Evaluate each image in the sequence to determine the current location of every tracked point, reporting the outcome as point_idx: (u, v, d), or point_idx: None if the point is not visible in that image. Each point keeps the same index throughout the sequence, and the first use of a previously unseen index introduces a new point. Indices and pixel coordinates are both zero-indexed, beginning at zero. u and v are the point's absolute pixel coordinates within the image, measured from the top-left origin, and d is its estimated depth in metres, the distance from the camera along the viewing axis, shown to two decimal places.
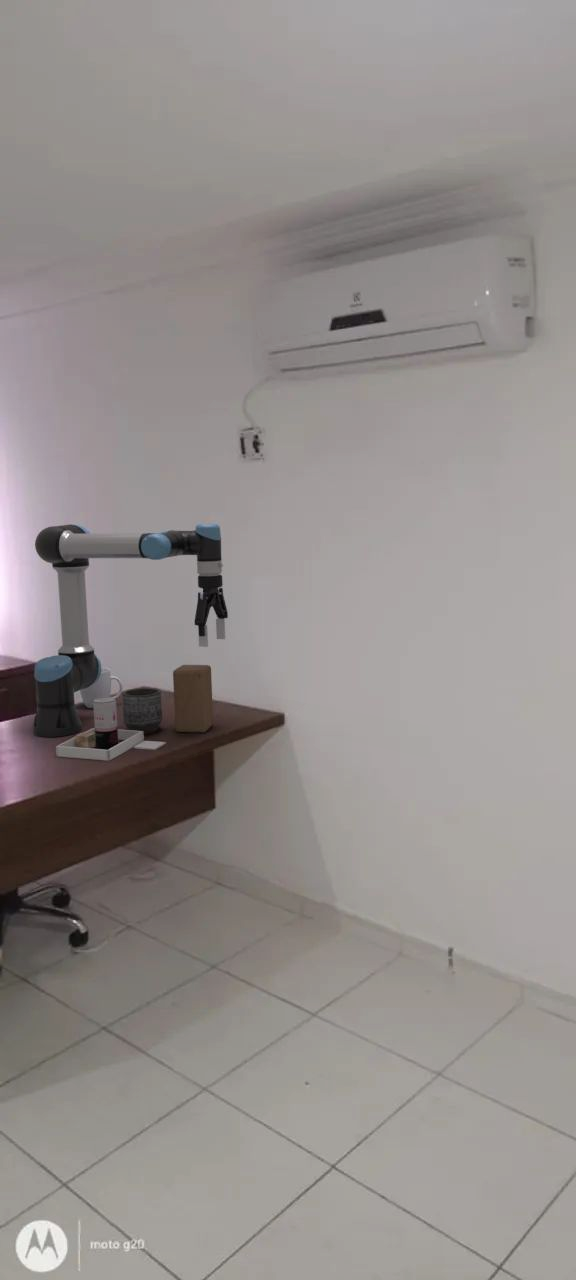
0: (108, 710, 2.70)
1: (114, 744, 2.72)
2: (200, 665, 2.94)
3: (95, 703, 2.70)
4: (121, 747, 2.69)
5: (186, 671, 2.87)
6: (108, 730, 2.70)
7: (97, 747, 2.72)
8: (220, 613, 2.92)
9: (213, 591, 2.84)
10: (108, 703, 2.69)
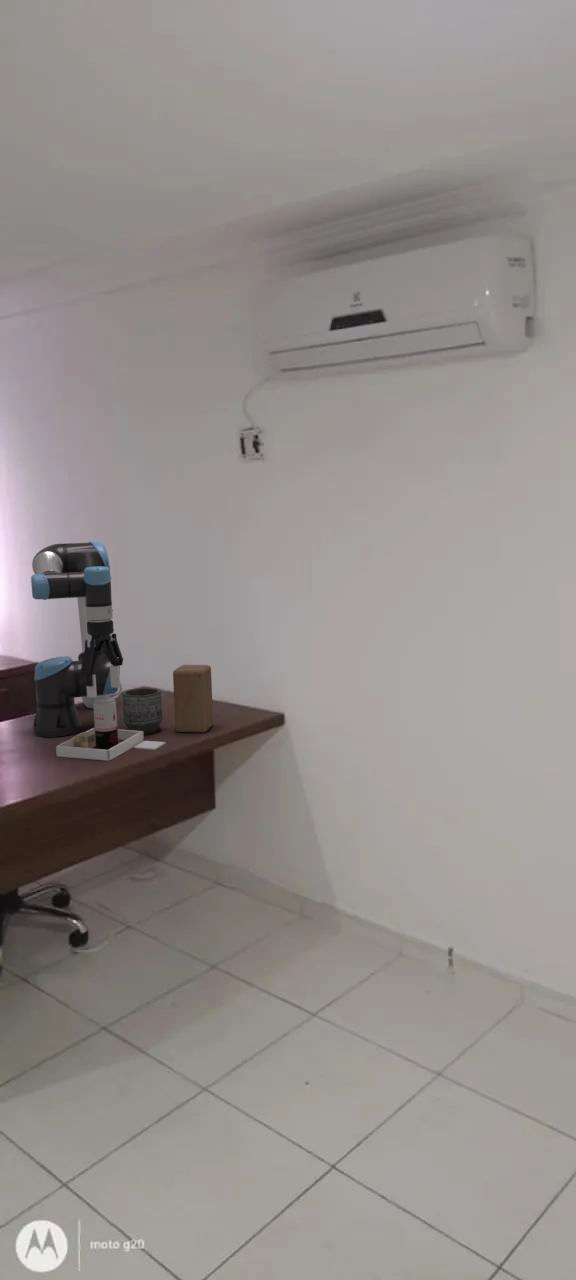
0: (108, 710, 2.70)
1: (114, 744, 2.72)
2: (200, 665, 2.94)
3: (95, 703, 2.70)
4: (121, 747, 2.69)
5: (186, 671, 2.87)
6: (108, 730, 2.70)
7: (97, 747, 2.72)
8: (114, 660, 2.75)
9: (103, 638, 2.68)
10: (108, 703, 2.69)
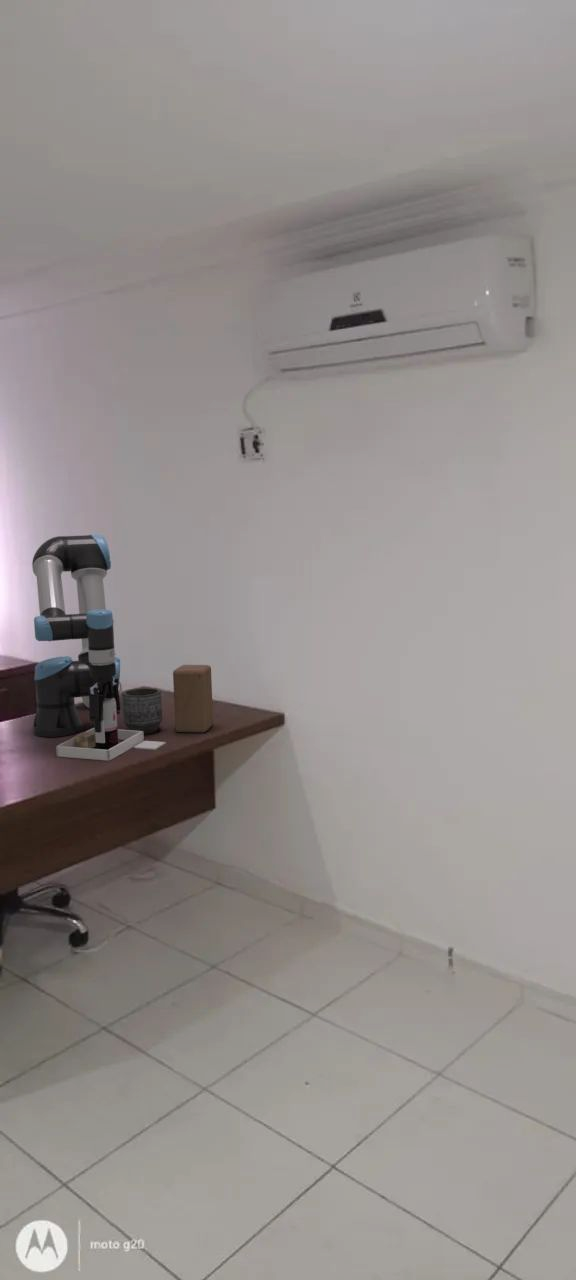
0: (108, 710, 2.70)
1: (114, 744, 2.72)
2: (200, 665, 2.94)
3: None
4: (121, 747, 2.69)
5: (186, 671, 2.87)
6: (108, 730, 2.70)
7: (97, 747, 2.72)
8: None
9: (106, 680, 2.70)
10: (108, 703, 2.69)
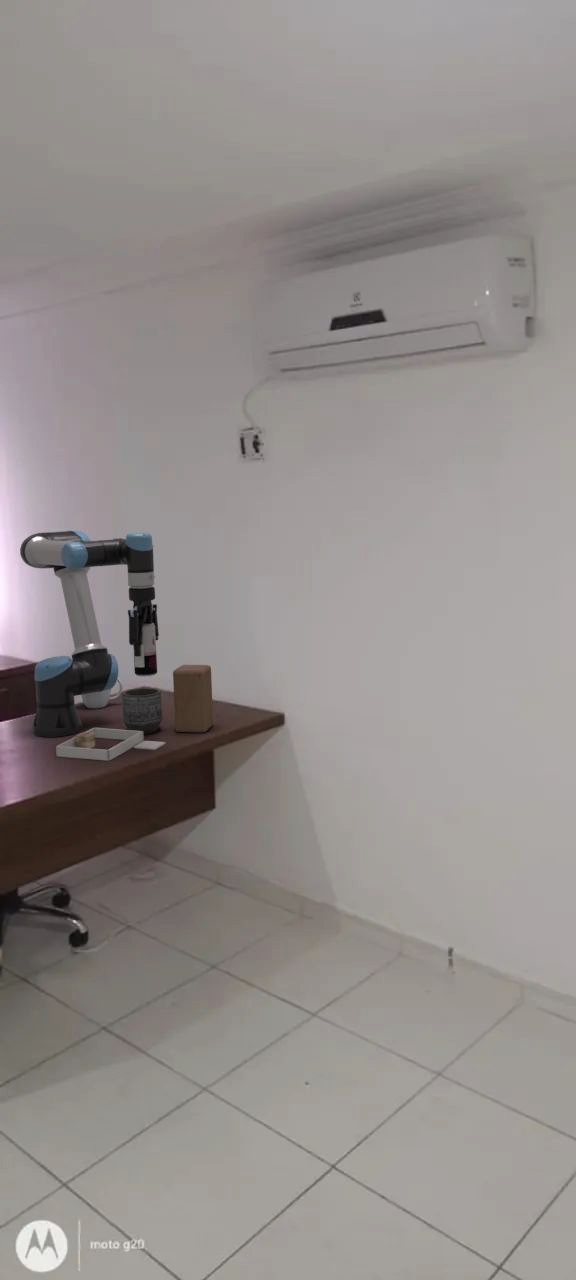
0: (148, 634, 2.68)
1: (153, 669, 2.70)
2: (200, 665, 2.94)
3: None
4: (121, 747, 2.69)
5: (186, 671, 2.87)
6: (147, 655, 2.69)
7: (136, 672, 2.70)
8: None
9: (145, 604, 2.69)
10: (147, 627, 2.68)
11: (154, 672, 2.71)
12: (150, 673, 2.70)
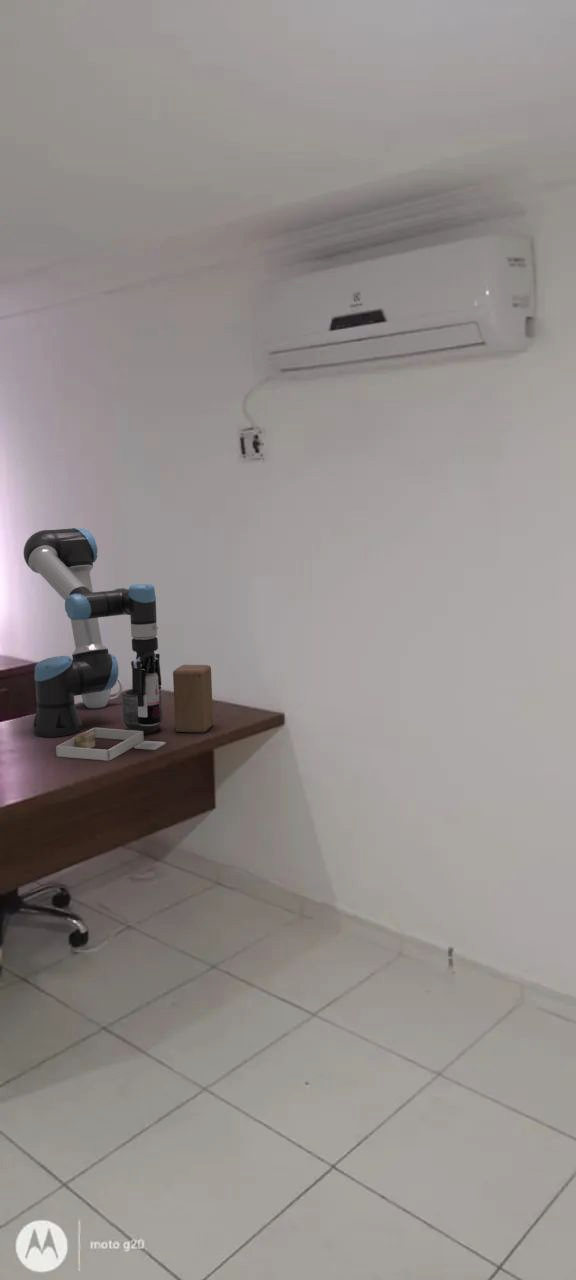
0: (151, 684, 2.70)
1: (156, 718, 2.73)
2: (200, 665, 2.94)
3: None
4: (121, 747, 2.69)
5: (186, 671, 2.87)
6: (150, 704, 2.71)
7: (139, 721, 2.73)
8: None
9: (148, 654, 2.71)
10: (151, 677, 2.70)
11: (157, 721, 2.73)
12: (153, 723, 2.72)
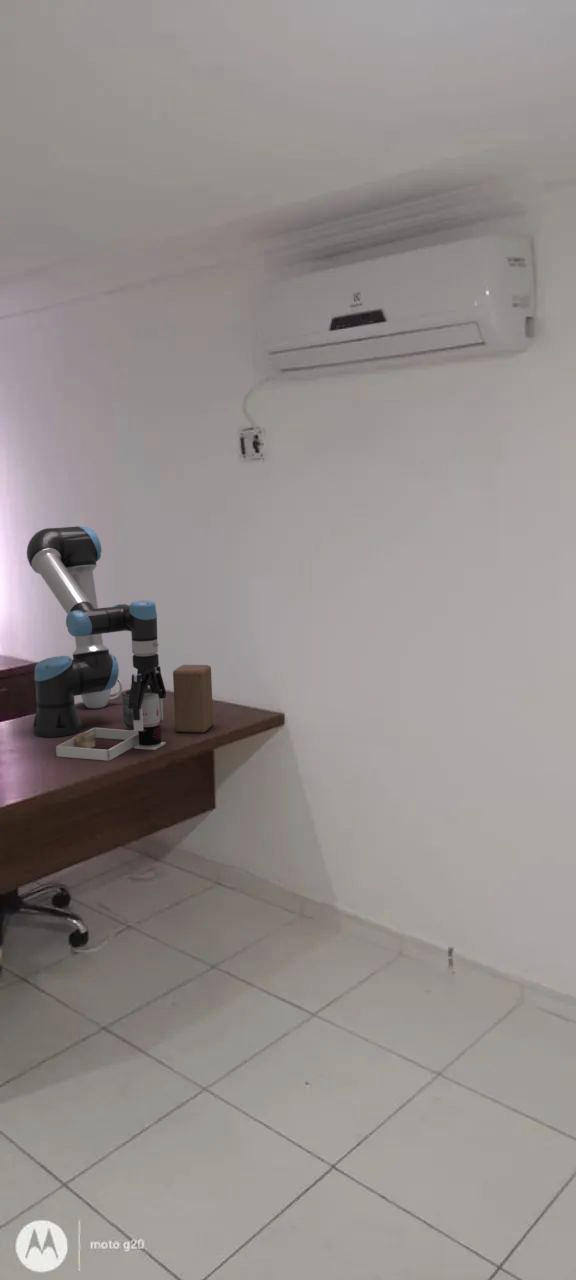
0: (152, 705, 2.72)
1: (157, 739, 2.74)
2: (200, 665, 2.94)
3: None
4: (121, 747, 2.69)
5: (186, 671, 2.87)
6: (151, 726, 2.72)
7: (140, 742, 2.74)
8: (157, 693, 2.79)
9: (149, 671, 2.72)
10: (152, 699, 2.72)
11: (158, 742, 2.75)
12: (154, 744, 2.74)
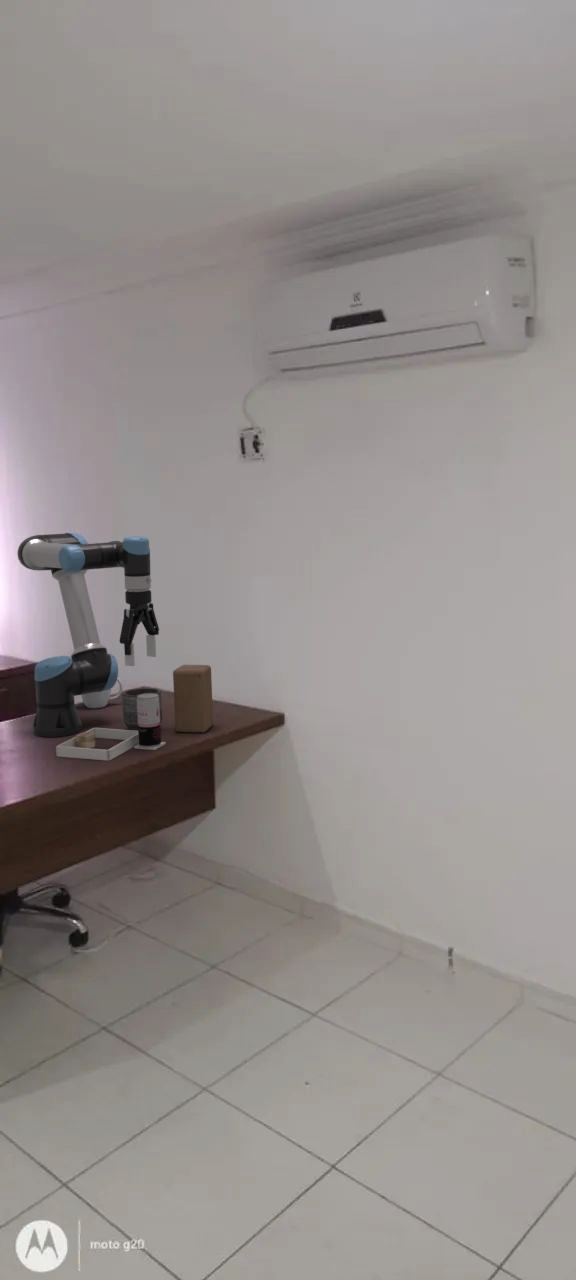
0: (152, 706, 2.72)
1: (157, 740, 2.74)
2: (200, 665, 2.94)
3: (139, 699, 2.72)
4: (121, 747, 2.69)
5: (186, 671, 2.87)
6: (151, 726, 2.72)
7: (140, 743, 2.74)
8: (150, 629, 2.78)
9: (141, 607, 2.71)
10: (152, 699, 2.72)
11: (158, 743, 2.75)
12: (154, 744, 2.74)
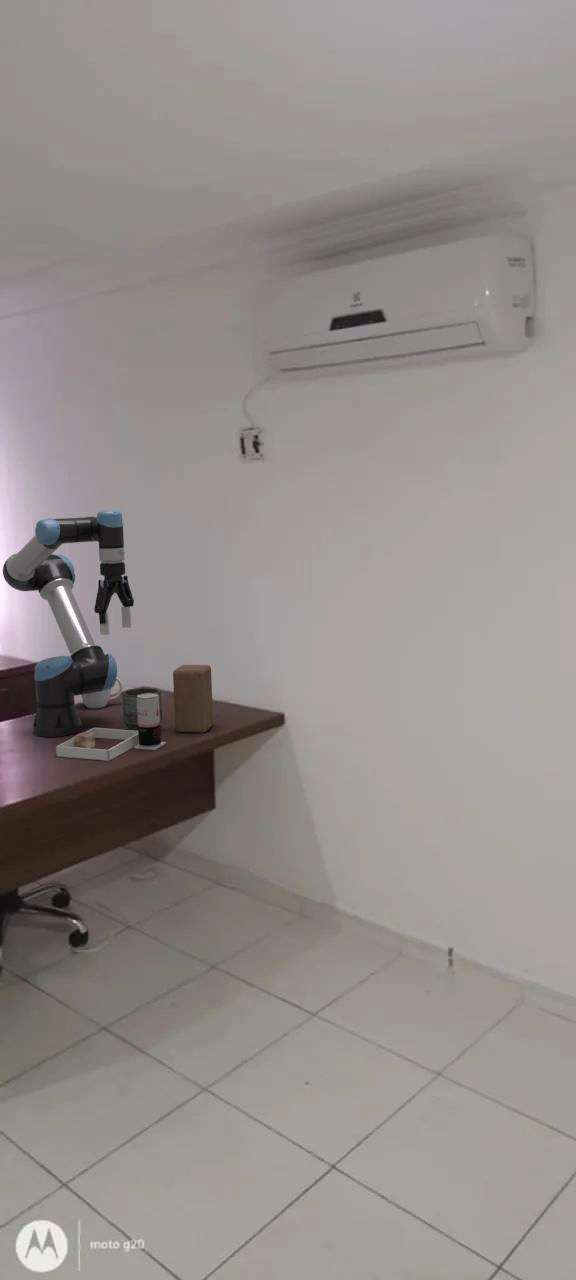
0: (152, 706, 2.72)
1: (157, 740, 2.74)
2: (200, 665, 2.94)
3: (139, 699, 2.72)
4: (121, 747, 2.69)
5: (186, 671, 2.87)
6: (151, 726, 2.72)
7: (140, 743, 2.74)
8: (125, 601, 2.89)
9: (115, 579, 2.82)
10: (152, 699, 2.72)
11: (158, 743, 2.75)
12: (154, 744, 2.74)
